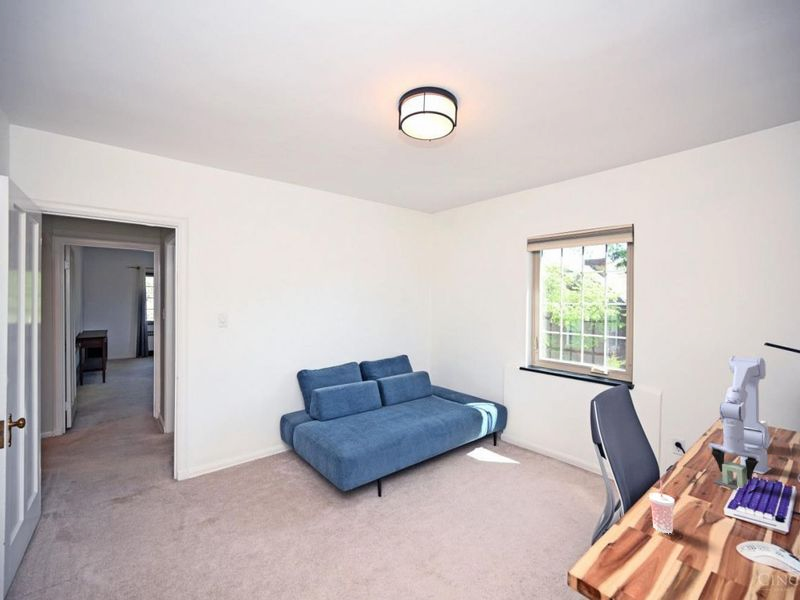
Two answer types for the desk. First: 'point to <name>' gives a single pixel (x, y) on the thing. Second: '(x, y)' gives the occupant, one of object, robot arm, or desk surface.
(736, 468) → the slotted sage cube
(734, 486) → the felt pad
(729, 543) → the desk surface
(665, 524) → the beverage cup
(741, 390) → the robot arm
